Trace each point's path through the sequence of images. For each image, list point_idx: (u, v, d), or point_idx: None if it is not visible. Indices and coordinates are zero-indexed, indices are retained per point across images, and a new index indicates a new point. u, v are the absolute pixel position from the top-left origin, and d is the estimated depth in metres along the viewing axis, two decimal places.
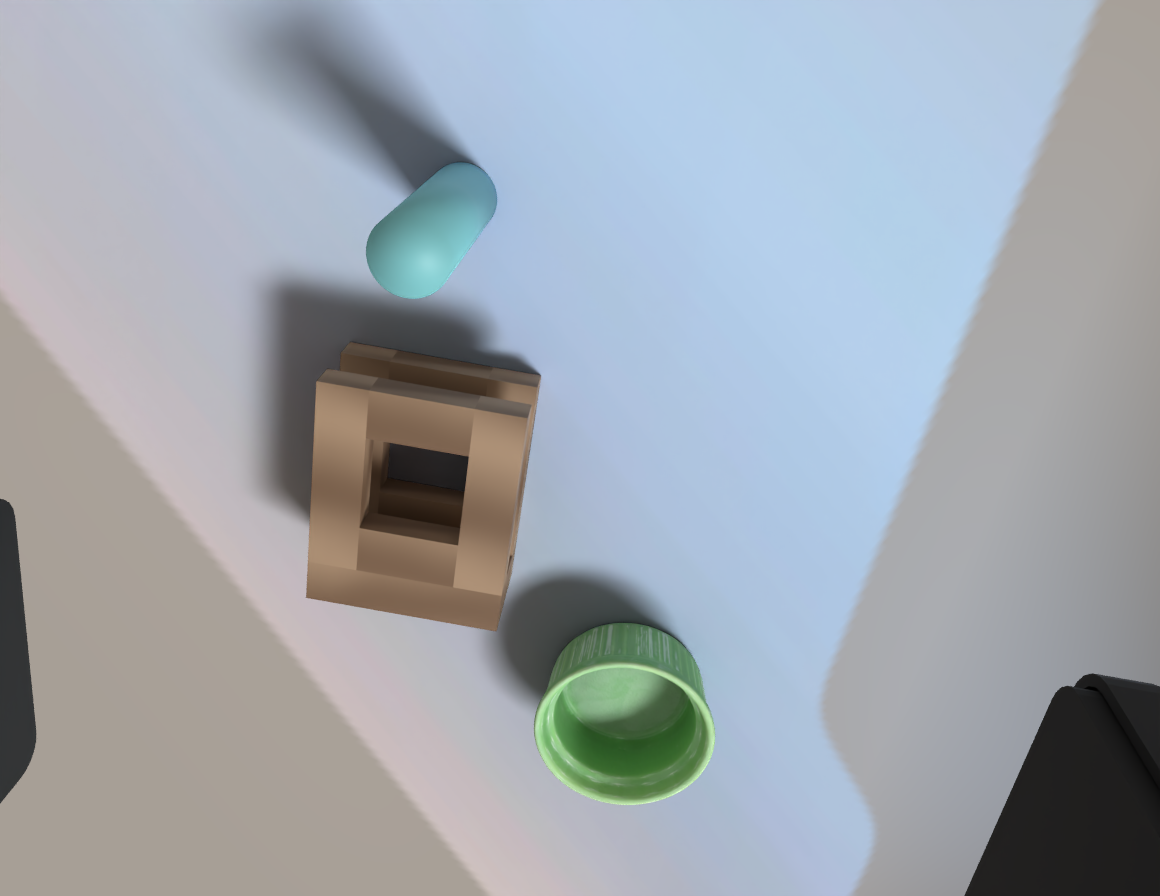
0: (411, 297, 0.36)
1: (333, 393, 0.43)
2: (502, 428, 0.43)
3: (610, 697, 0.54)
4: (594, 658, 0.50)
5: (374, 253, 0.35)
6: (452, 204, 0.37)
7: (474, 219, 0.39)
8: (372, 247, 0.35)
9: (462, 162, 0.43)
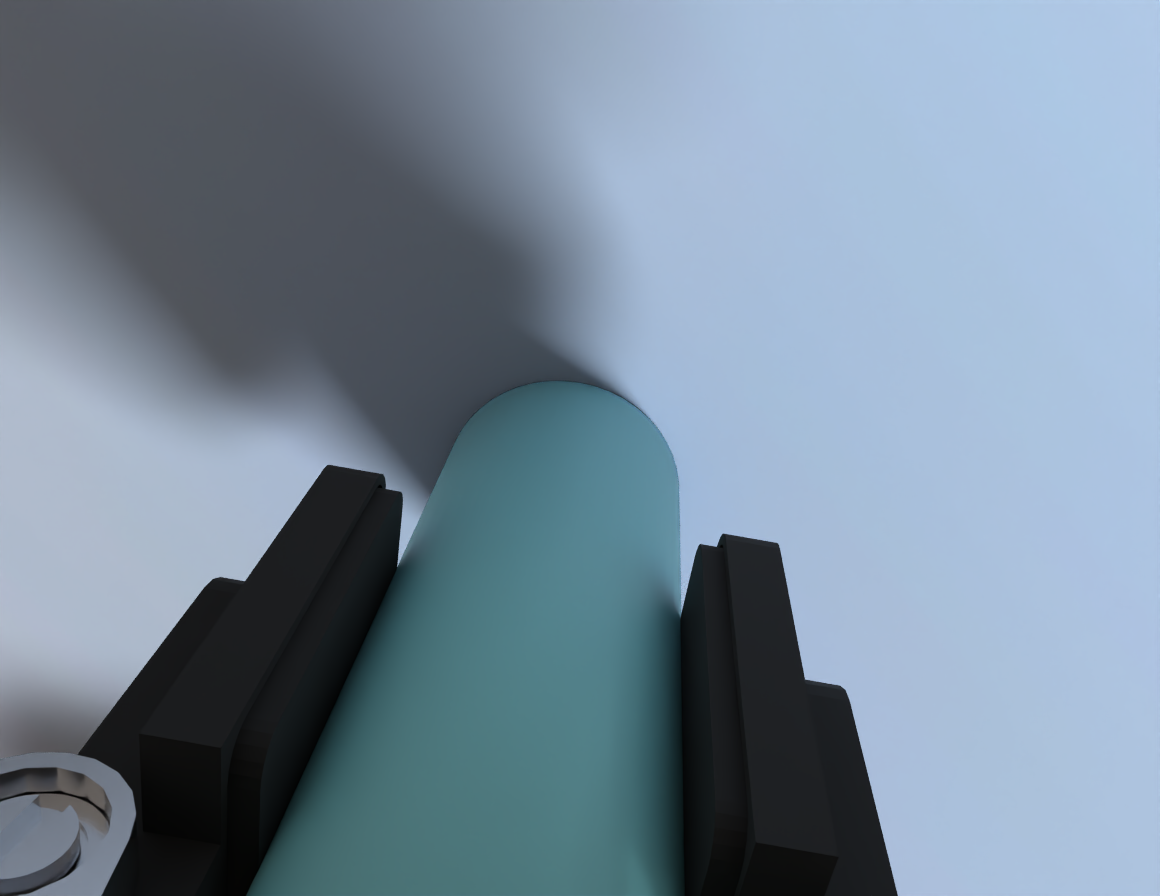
0: None
1: None
2: None
3: None
4: None
5: None
6: (612, 834, 0.06)
7: None
8: None
9: (567, 383, 0.12)
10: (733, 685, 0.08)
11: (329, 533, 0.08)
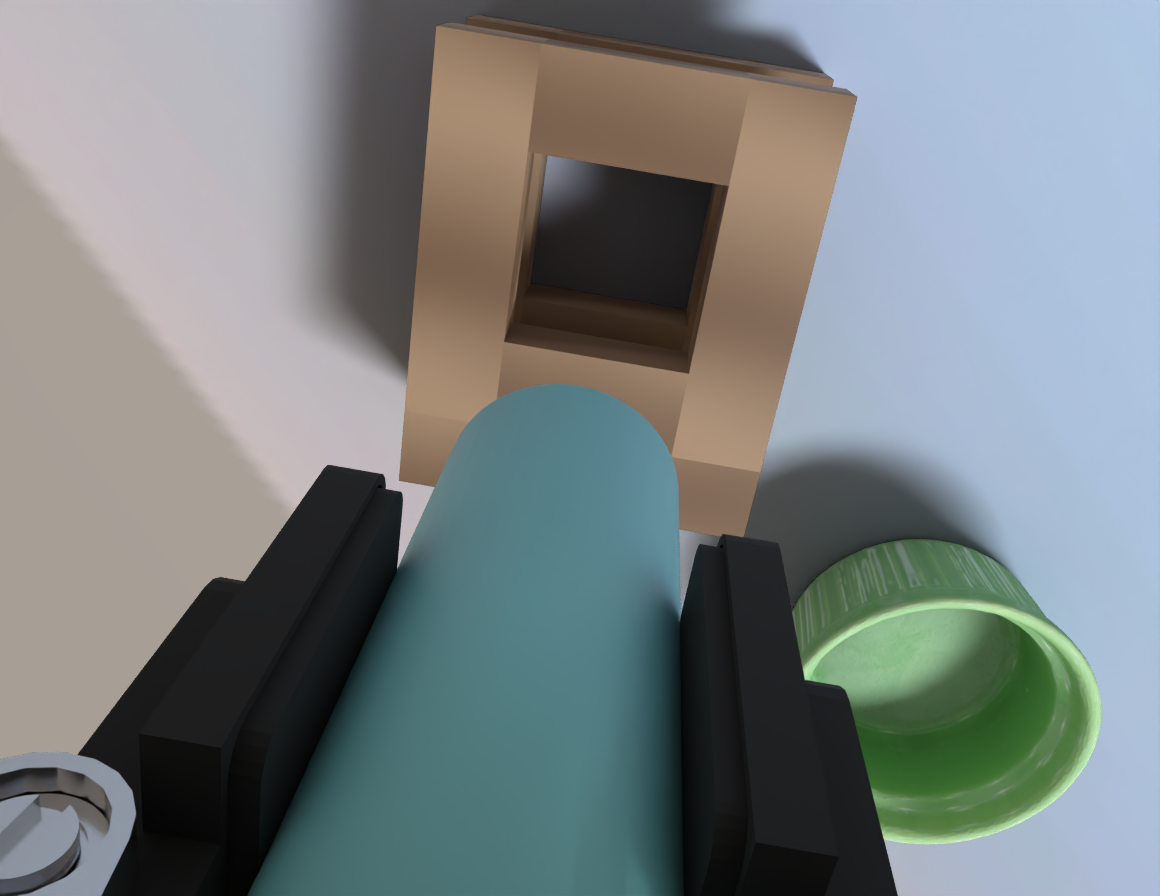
0: None
1: (469, 52, 0.22)
2: (804, 121, 0.22)
3: (881, 665, 0.33)
4: (896, 593, 0.28)
5: None
6: (610, 839, 0.06)
7: None
8: None
9: (566, 386, 0.12)
10: (733, 685, 0.08)
11: (329, 533, 0.08)
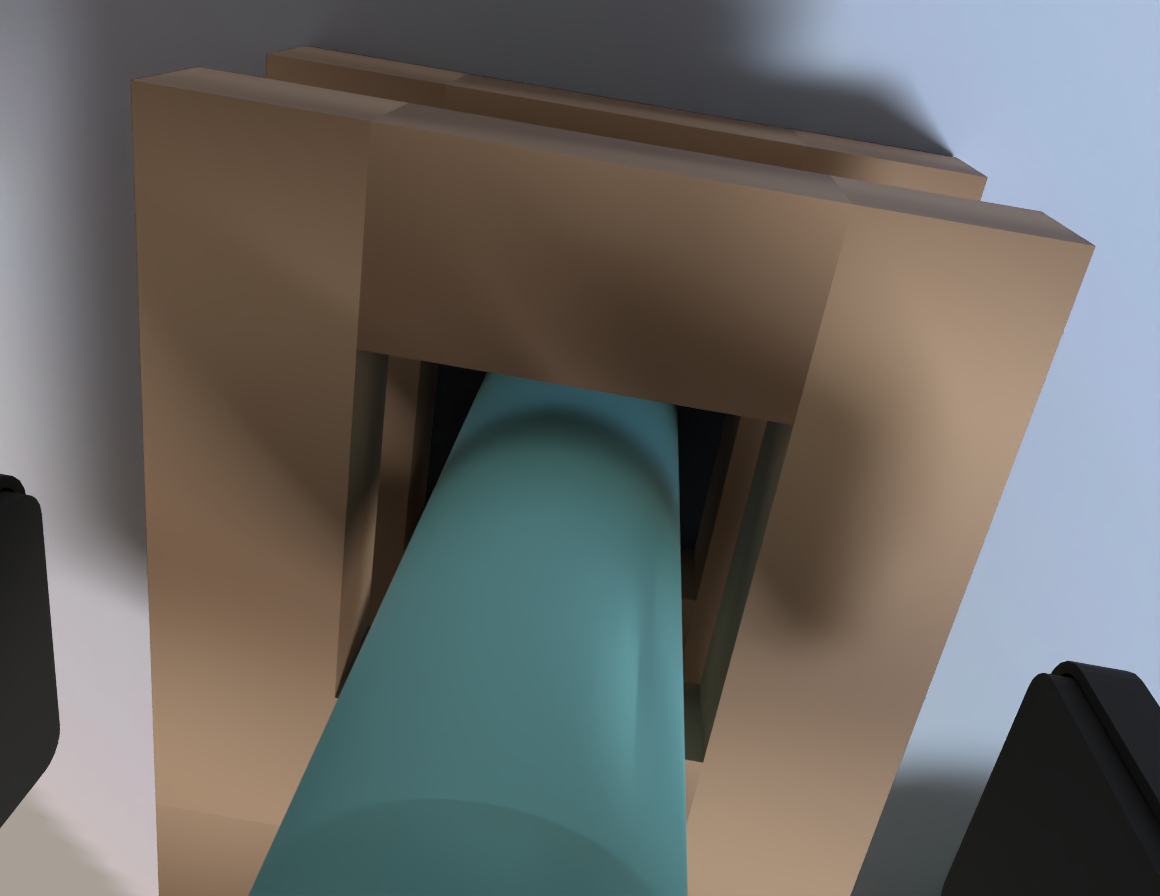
0: None
1: (211, 140, 0.10)
2: (967, 296, 0.10)
3: None
4: None
5: None
6: (629, 578, 0.09)
7: (680, 576, 0.11)
8: None
9: None
10: None
11: None
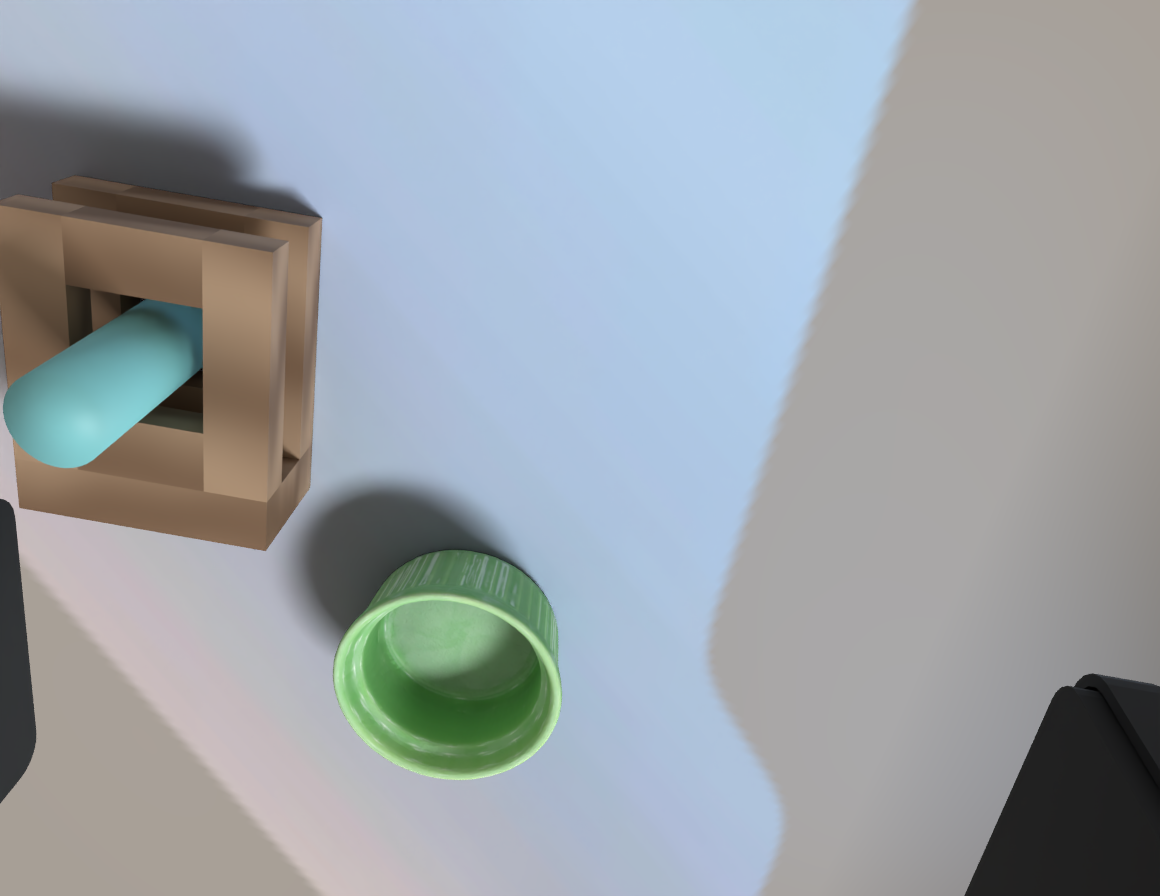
0: (64, 466, 0.30)
1: (15, 220, 0.32)
2: (242, 267, 0.32)
3: (444, 645, 0.43)
4: (404, 589, 0.39)
5: (13, 417, 0.29)
6: (132, 348, 0.32)
7: (172, 358, 0.33)
8: (10, 410, 0.29)
9: None
10: None
11: None
